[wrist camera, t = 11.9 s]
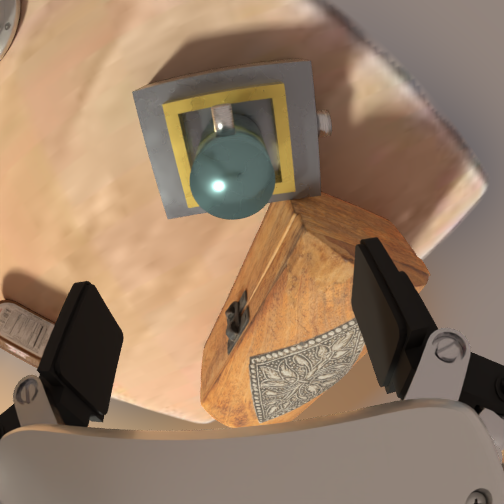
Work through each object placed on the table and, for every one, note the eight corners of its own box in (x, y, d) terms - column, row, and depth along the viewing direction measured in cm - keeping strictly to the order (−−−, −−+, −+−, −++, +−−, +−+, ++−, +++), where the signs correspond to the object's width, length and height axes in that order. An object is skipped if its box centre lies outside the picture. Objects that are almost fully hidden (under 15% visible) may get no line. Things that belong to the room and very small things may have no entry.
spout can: (191, 98, 22) (174, 120, 16) (255, 87, 22) (266, 104, 16) (206, 176, 26) (199, 225, 20) (266, 166, 26) (279, 213, 20)
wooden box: (274, 168, 32) (300, 249, 21) (396, 220, 36) (450, 299, 25) (192, 344, 48) (187, 425, 37) (287, 363, 52) (298, 437, 41)
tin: (-2, 300, 41) (-22, 337, 34) (-1, 288, 39) (-24, 326, 32) (71, 339, 46) (57, 379, 40) (74, 329, 45) (59, 371, 38)
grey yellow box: (147, 84, 26) (126, 94, 20) (315, 57, 25) (336, 61, 20) (175, 194, 33) (165, 228, 27) (324, 172, 32) (342, 201, 27)
